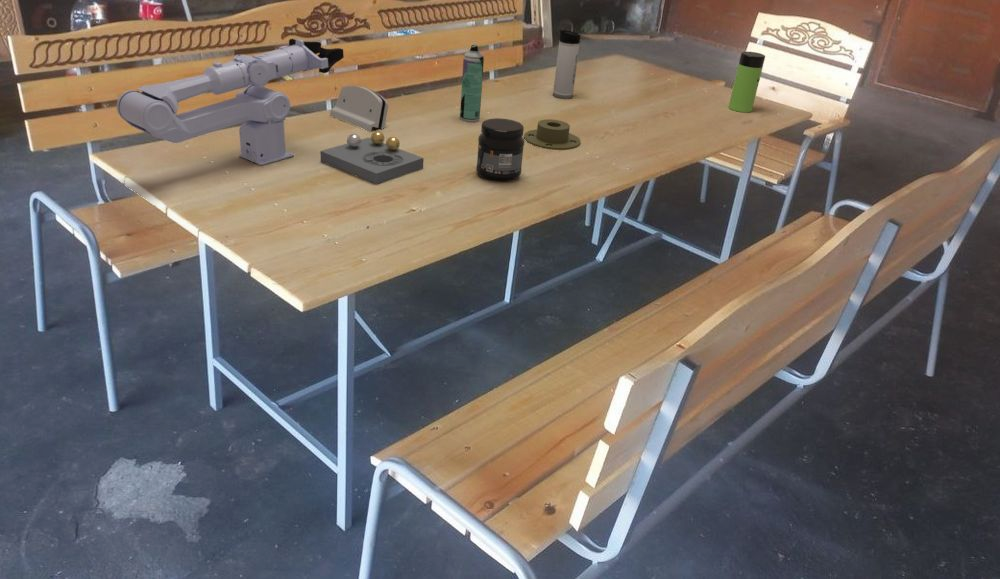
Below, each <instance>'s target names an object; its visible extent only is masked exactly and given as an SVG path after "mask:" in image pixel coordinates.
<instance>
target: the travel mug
mask: <svg viewBox="0 0 1000 579" xmlns="http://www.w3.org/2000/svg"><path fill="white" fill-rule="evenodd" d="M558 32H559V33H560V34H559V40H558V41H559V42H558V49H557V58H556V65H555V66H556V67H555V73H554V75H555V76H554V82H553V91H552V96H553V97H555V98H557V99H563V100H570V99H572V98H573V97H574V90H575V82H576V75H577V67H578V66H577V65H578V60H579V59H578V58H579V52H580V45H581V34H579V33H578V32H575V31H571V30H567V29H566V30H565V29H559V31H558Z"/></svg>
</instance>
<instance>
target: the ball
mask: <svg viewBox="0 0 1000 579" xmlns="http://www.w3.org/2000/svg"><path fill="white" fill-rule="evenodd" d="M346 142H347V143H348V145H349V146H350V147H352V148H356V147H358V146H359V145H360V144H361V137H360V136H359V135H358V134H356V133H351V134H349V135H348V136H347V139H346ZM347 143H346V144H347Z"/></svg>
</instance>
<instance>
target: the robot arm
mask: <svg viewBox="0 0 1000 579" xmlns="http://www.w3.org/2000/svg"><path fill="white" fill-rule="evenodd" d="M344 57H345V56H344V49H343V48H339V47H337V48H336V47H334V48H324V47H322V44H321V42H320V41H304V40H303V39H299V38H297V39H295V38H290V39H289V40H288V45H283V46H279V47H278V48H277V49H275V50H270V51H266V52H263V53H259V54H255V55H252V56H250V55H246V54H236V55H235V56H234V57H233V58H232V59H231V60H230V61H227V62H223V63H222V62H219V61H214V62H213V63H212V65H211V66H207V67H206V68H205V69H204V71H203V74H201V75H195V76H191V77H186V78H180V79H175V80H172V81H171V80H170V81H167V82H161V83H156V84H155V83H153V84H148V85H147V84H146V85H142V86H140V87H137V88H136V89H137V90H135V89H130V90H127V91H124V92H123V93H121V95H119V97H118V99H117V101H116V102H117V103H116V110H117V114H118V116H120V118H121V119H123V121H125V122H126V123H127V124H128V125H130V126H131V127H133V128H135V129H138V130H140V131H142V132H143V133H147V134H149V135H150V136H153V137H154V138H159V139H161V140H164V141H166V142H170V143H172V144H179V143H182V142H184V141H188V140H191V139H194V138H198V137H200V136H204V135H207V134H211V133H214V132H216V131H220V130H222V129H223V130H224V129H227V128H228V127H232V126H235V125H239V124H240V126H239V142H240V153H239V154H238V155H239V157H241V158H243V159H245V160H248V161H250V162H252V163H254V162H255V163H254V164H257V165H258V166H259V165H260V166H262V165H264V166H265V165H266V164H270V163H274V162H277V161H281V160H284V159H289V158H293V157H294V156H295V153H293V152H290V151H288V150H286V135H285V121H286V117H287V116H288V114H290V113H289V112H290V109H291V101H290V98H289V96H288V95H286V93H283V92H280V91H276V90H273V89H271V88H268V87H265V86H266V85H267V83H269V81H271V80H274V79H279V78H282V77H286V76H289V75H293V74H296V73H300V72H303V73H304V72H309V71H312V70H313V71H314V70H316V69H318V72H319V73H322V74H328V73H329V72H330V70H331V69H332V67H333V66H334V65H336V64H337V63H338V62H340V61H342V59H344ZM243 88H244V89H243ZM239 89H243V90H241V91H238V92H236V94H235V97H233V98H229V99H227V100H223V101H220V102H219V101H218V102H216V103H212V104H209V105H205V106H201V107H197V108H195V109H192V110H188V111H184V112H180V113H178V110H179V103H181V102H182V101H186V100H188V99H191V98H193V97H197V96H200V95H202V94H205V93H208V92H211V93H212V95H213V94H214V95H215V96H216V95H217V96H218V95H222V94H225V93H226V94H227V93H228V92H232V91H236V90H239ZM138 90H139V91H138ZM177 113H178V114H177Z"/></svg>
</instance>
